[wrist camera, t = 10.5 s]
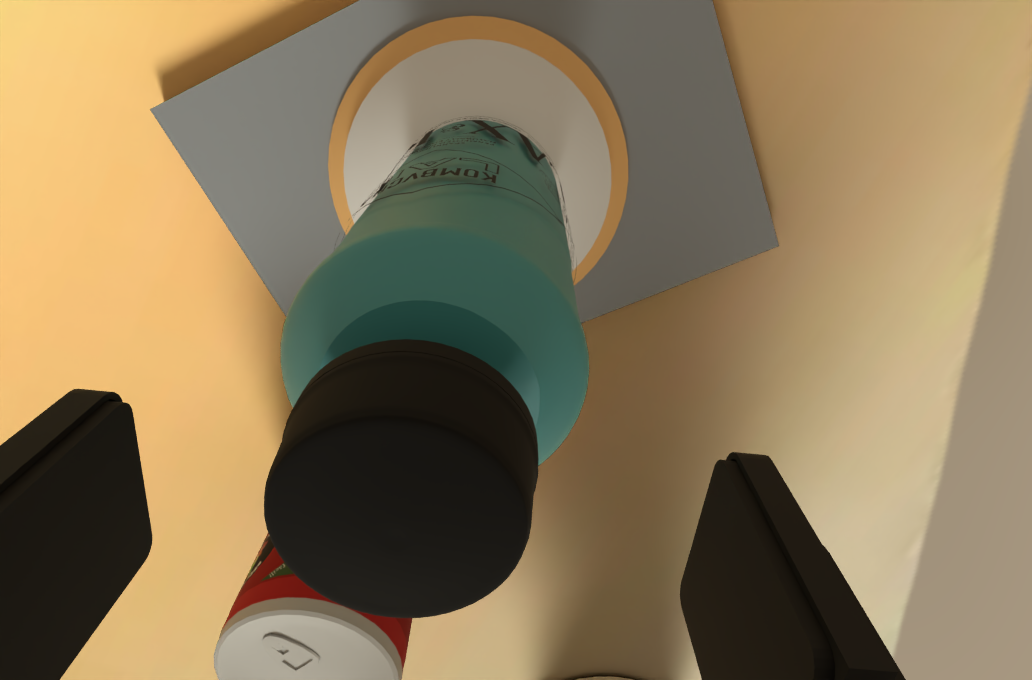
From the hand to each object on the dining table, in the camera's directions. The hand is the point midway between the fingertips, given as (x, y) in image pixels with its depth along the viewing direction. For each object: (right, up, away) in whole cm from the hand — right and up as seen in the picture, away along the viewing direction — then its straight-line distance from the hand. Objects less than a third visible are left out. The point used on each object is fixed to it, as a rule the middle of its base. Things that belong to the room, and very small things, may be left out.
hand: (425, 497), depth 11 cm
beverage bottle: (0, +9, +17) cm, 19 cm away
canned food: (-7, -7, +27) cm, 28 cm away
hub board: (0, +10, +18) cm, 21 cm away
